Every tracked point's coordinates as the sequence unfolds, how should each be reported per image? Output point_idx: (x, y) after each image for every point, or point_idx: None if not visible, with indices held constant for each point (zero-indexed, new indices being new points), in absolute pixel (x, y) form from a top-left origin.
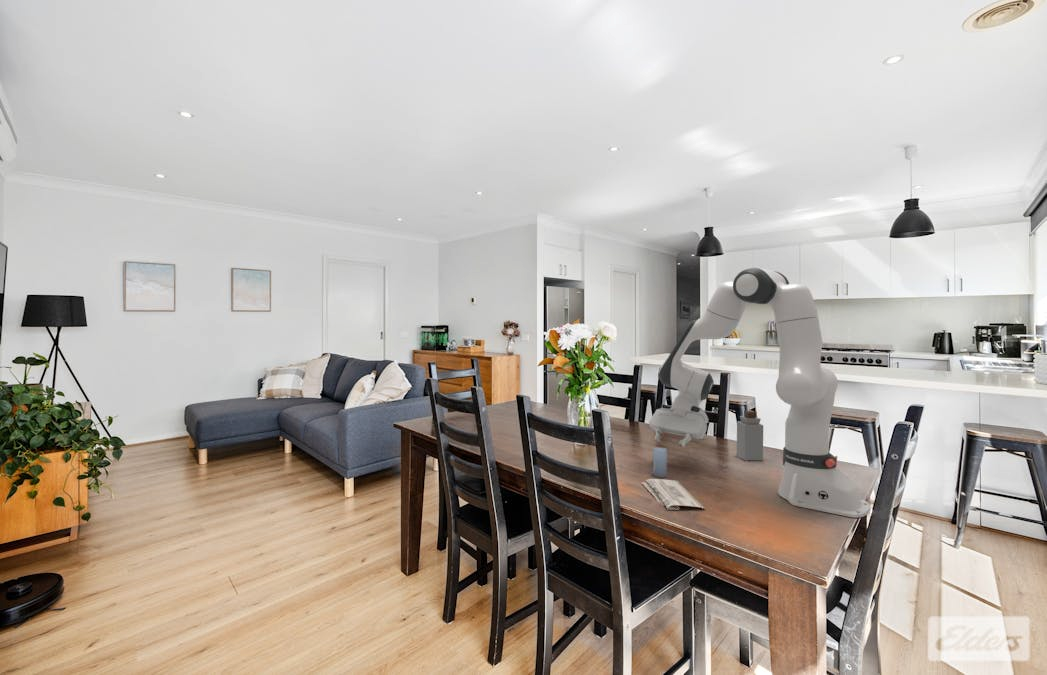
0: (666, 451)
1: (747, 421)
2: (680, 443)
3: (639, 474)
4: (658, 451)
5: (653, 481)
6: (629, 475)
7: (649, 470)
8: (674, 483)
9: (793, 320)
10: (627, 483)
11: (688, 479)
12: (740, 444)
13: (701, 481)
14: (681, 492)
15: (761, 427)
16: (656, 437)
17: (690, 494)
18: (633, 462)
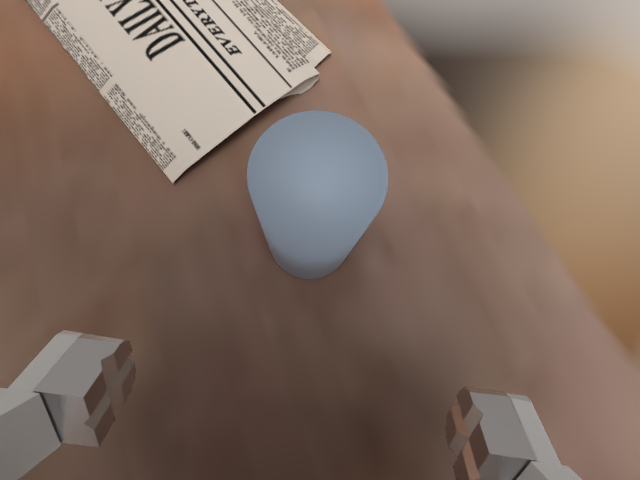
0: (248, 181)
1: None
2: (94, 335)
3: (410, 180)
4: (307, 114)
5: (270, 55)
6: (444, 132)
7: (401, 286)
8: (170, 113)
9: None
10: (388, 24)
11: (135, 275)
12: None
13: (53, 290)
14: (96, 8)
15: None
16: (505, 406)
17: (58, 36)
18: (566, 380)
